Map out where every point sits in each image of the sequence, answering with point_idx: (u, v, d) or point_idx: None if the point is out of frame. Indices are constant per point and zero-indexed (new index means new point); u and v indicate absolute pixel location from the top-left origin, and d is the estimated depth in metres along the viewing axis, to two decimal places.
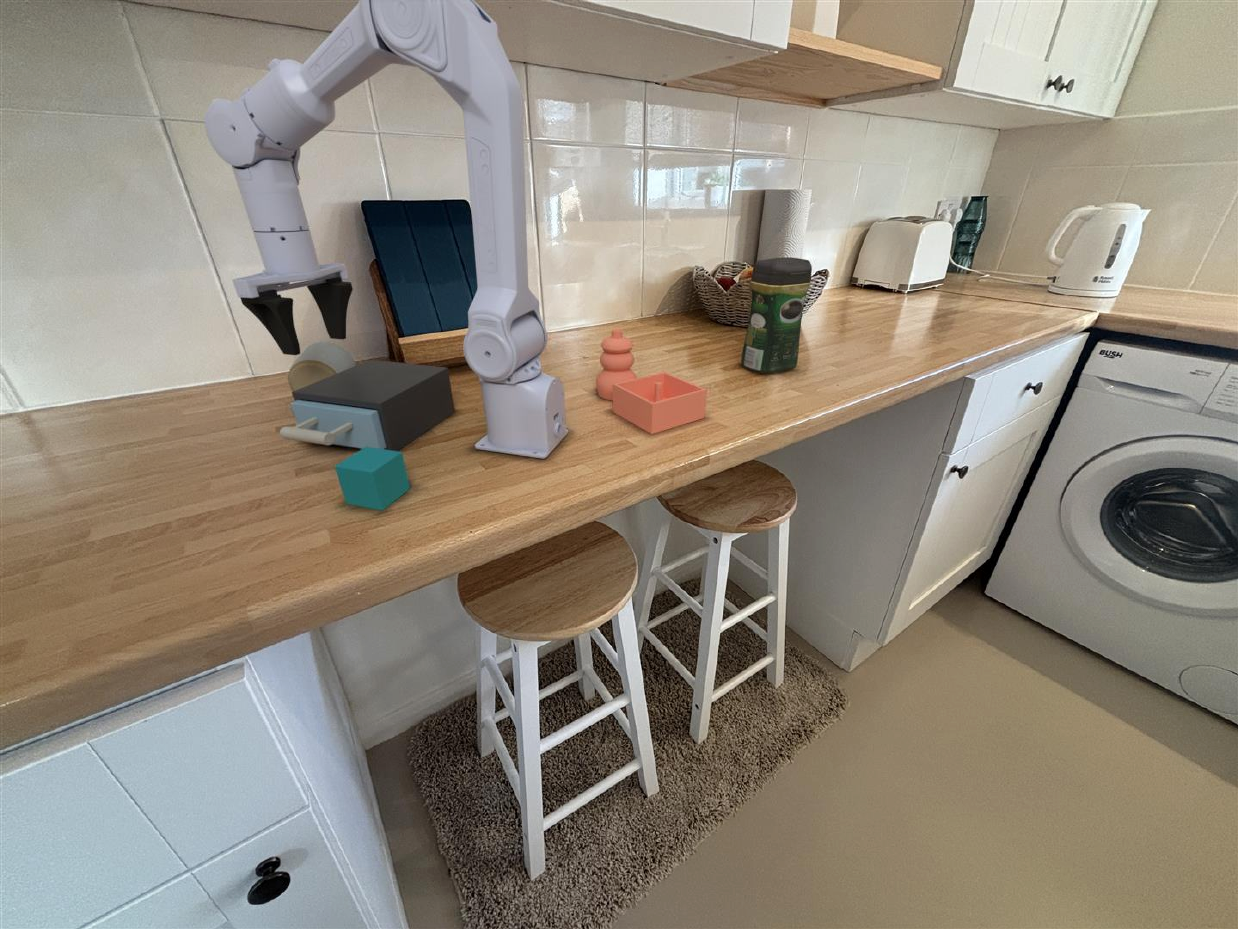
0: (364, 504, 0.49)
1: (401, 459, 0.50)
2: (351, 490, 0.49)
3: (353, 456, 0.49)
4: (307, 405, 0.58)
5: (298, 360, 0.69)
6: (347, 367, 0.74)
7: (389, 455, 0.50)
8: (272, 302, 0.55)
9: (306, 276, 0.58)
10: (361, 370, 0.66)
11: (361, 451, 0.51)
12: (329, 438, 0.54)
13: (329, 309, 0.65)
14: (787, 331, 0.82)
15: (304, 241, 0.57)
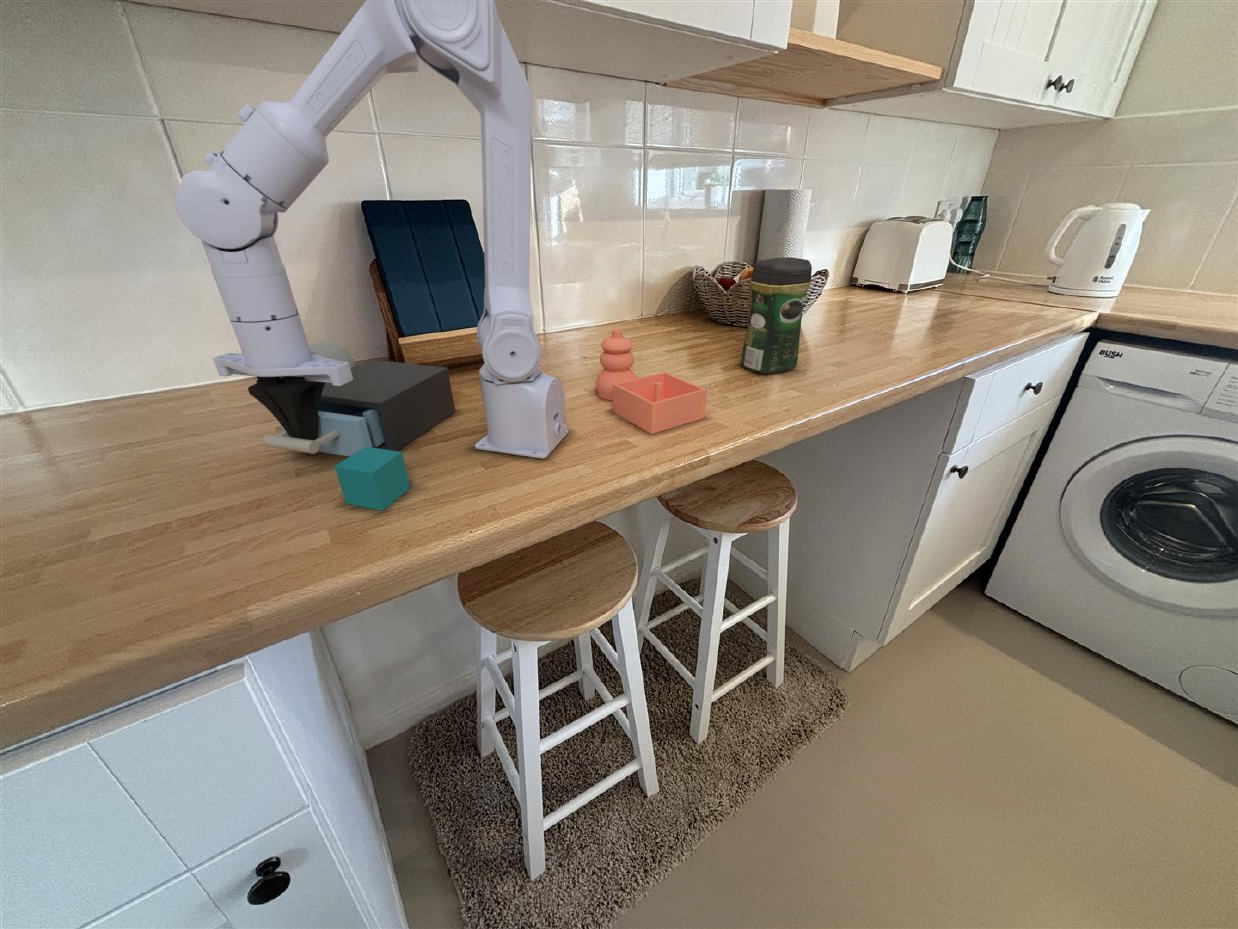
0: (364, 504, 0.49)
1: (401, 459, 0.50)
2: (351, 490, 0.49)
3: (353, 456, 0.49)
4: None
5: None
6: None
7: (389, 455, 0.50)
8: (248, 388, 0.50)
9: (248, 371, 0.48)
10: (361, 370, 0.66)
11: (361, 451, 0.51)
12: (313, 446, 0.52)
13: None
14: (786, 331, 0.82)
15: (244, 334, 0.46)
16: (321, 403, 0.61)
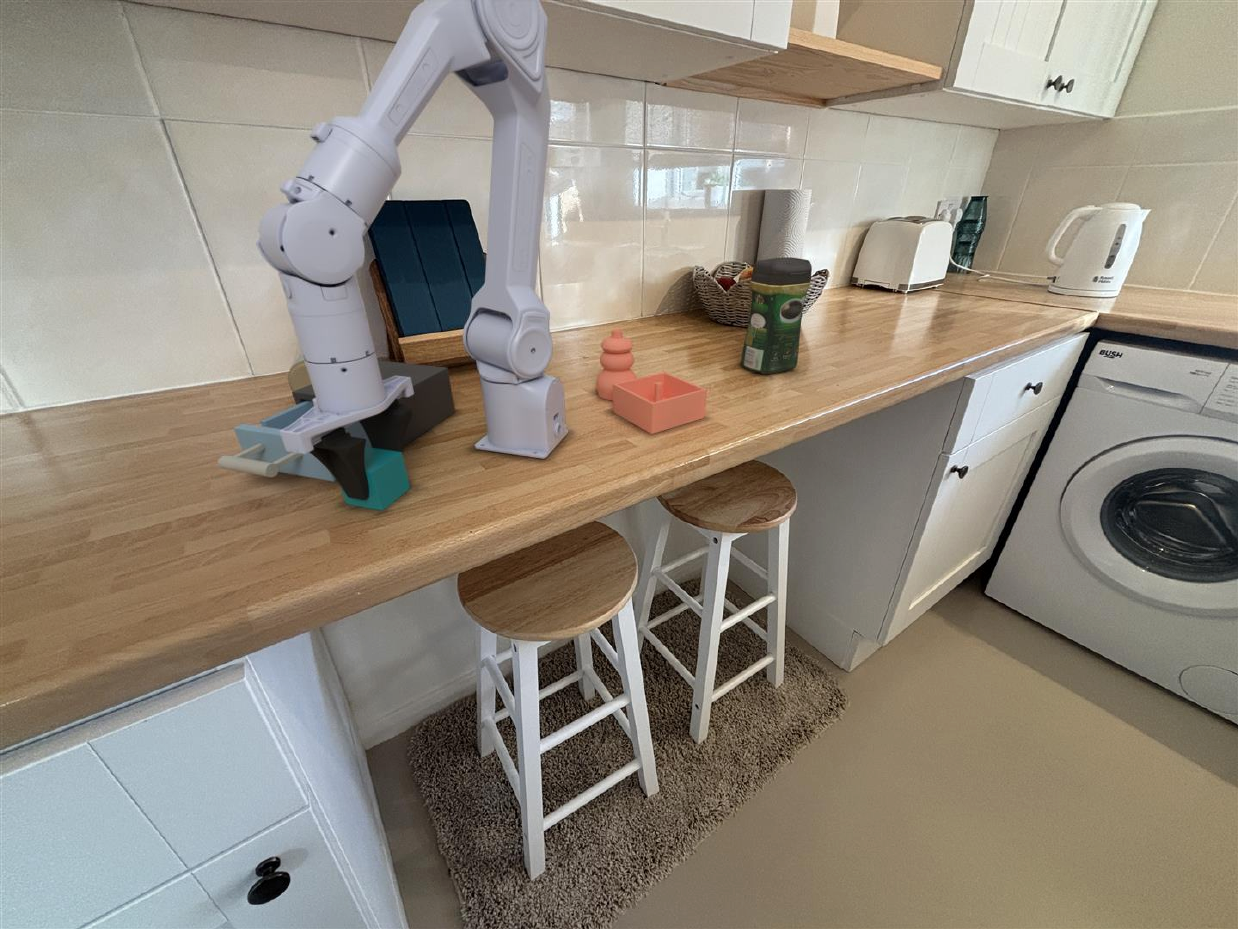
0: (364, 504, 0.49)
1: (401, 459, 0.50)
2: None
3: None
4: (252, 430, 0.52)
5: (298, 360, 0.69)
6: None
7: (389, 455, 0.50)
8: (342, 449, 0.43)
9: (371, 412, 0.45)
10: None
11: None
12: (272, 469, 0.48)
13: (382, 440, 0.51)
14: (786, 331, 0.82)
15: (370, 369, 0.44)
16: (286, 419, 0.57)
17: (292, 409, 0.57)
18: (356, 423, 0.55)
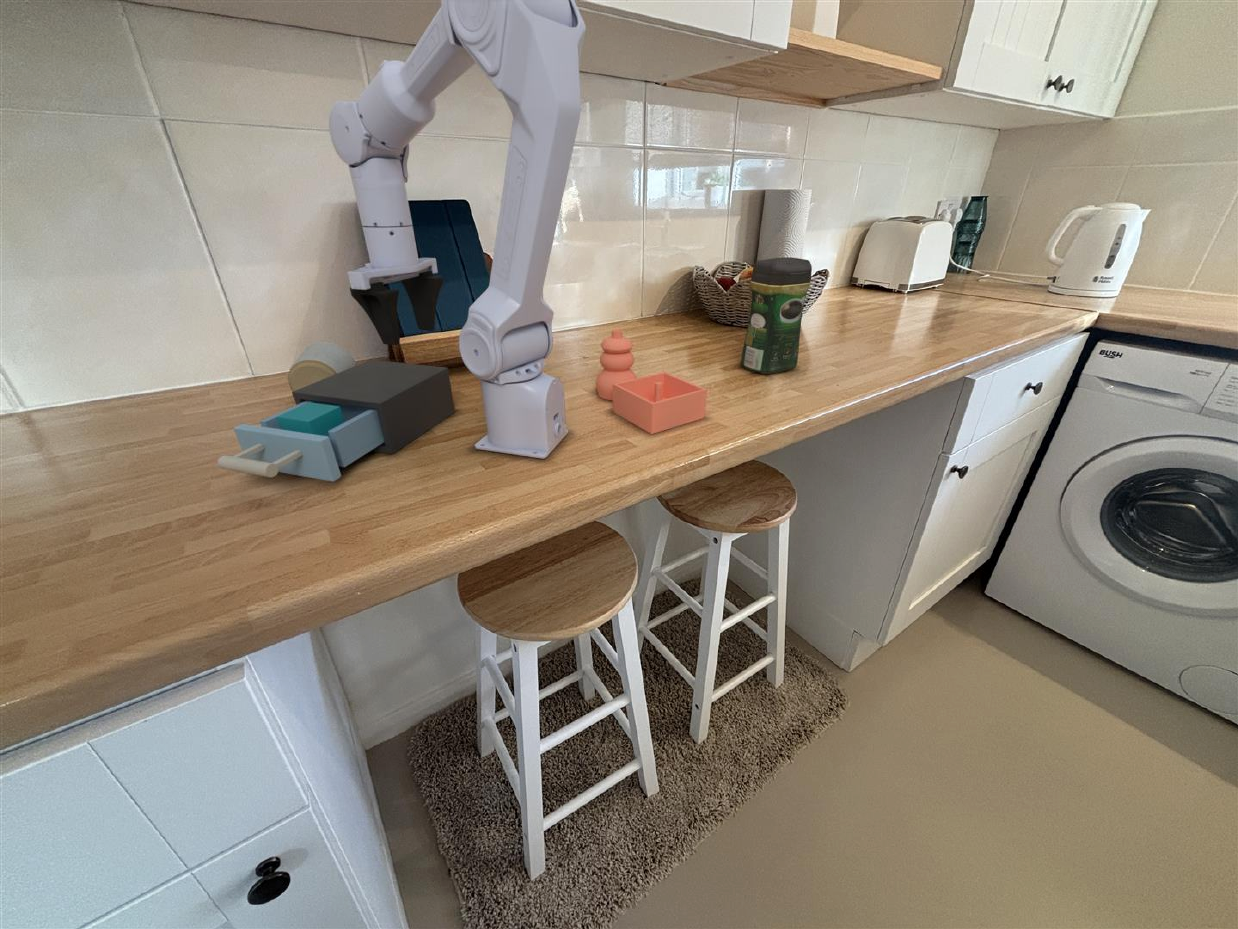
0: None
1: (339, 413, 0.56)
2: None
3: (295, 409, 0.55)
4: (252, 430, 0.52)
5: (298, 360, 0.69)
6: (347, 367, 0.74)
7: (328, 409, 0.55)
8: (382, 294, 0.58)
9: (409, 269, 0.61)
10: (361, 370, 0.66)
11: (303, 405, 0.56)
12: (271, 470, 0.48)
13: (420, 301, 0.68)
14: (786, 331, 0.82)
15: (409, 236, 0.60)
16: None
17: (292, 409, 0.57)
18: (356, 423, 0.55)
